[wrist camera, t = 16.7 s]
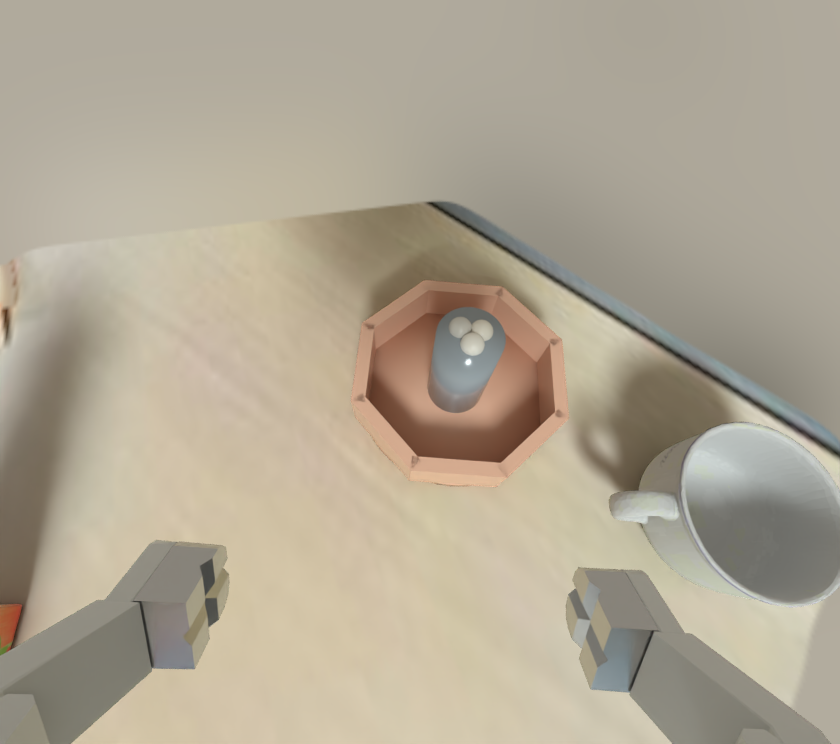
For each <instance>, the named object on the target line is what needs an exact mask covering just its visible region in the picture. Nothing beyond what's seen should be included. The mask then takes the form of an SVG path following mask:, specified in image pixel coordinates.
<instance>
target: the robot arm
mask: <svg viewBox="0 0 840 744" xmlns="http://www.w3.org/2000/svg"><path fill="white" fill-rule="evenodd" d="M226 561H227V551H226V547H224V546H223V545H213V544H201V543H190V542H173V541H162V540H156V541H154V542H152V543H151V544H149V545H148V547H147V548H146V549H145V550H144V552H143V553H142V554H141V555H140V557H139V558H138V559H137V560H136V562H135V563H134V564H133V565H132V567H131V568H130V569H129V570H128V572H127V573H126V574H125V575H124V577H123V578H122V579H121V580H120V582H119V583H118V584H117V585H116V587H115V588H114V589H113V590H112V591H111V593H110V594H109V595H108V596H107V598H106V599H105V600H96V601H95V602H93V603H91V604H89V605H88V606H86V607H84V608H82V609H81V610H79V611H77V612H75V613H74V614H72V615H70V616H68V617H67V618H65V619H63V620H62V621H60V622H58V623H56V624H55V625H53V626H51V627H49V628H48V629H46V630H44V631H42V632H41V633H39V634H37V635H35V636H34V637H32V638H30V639H28V640H27V641H25V642H23V643H22V644H20V645H18V646H16V647H15V648H13V649H11V650H9V651H8V652H6V653H4V654H2V655H1V656H0V744H71V743H72V742H73V741H74V740H75V739H76V738H78V737H79V736H80V735H81V734H82V733H83V732H84V731H85V730H87V729H88V728H89V727H90V726H91V725H92V724H93V723H94V722H96V721H97V720H98V719H99V718H100V717H101V716H102V715H103V714H104V713H106V712H107V711H108V710H109V709H110V708H111V707H112V706H113V705H115V704H116V703H117V702H118V701H119V700H120V699H121V698H122V697H124V696H125V695H126V694H127V693H128V692H129V691H130V690H131V689H132V688H134V687H135V686H136V685H137V684H138V683H139V682H140V681H141V680H143V679H144V678H145V677H146V676H147V675H148V674H149V673H150V672H152V668H157V669H195V668H196V666H197V664H198V662H199V660H200V658H201V656H202V654H203V651H204V649H205V647H206V645H207V643H208V641H209V639H210V637H209V627H210V626H211V625H212V624H214V623H215V622H216V621H218V620H219V618H220V616H221V614H222V612H223V610H224V607H225V604H226V600H227V597H228V592H229V574H228V573H227V572H226V570H225V569H224V568H223V566H224V564H225V563H226ZM573 582H574V585H575V587H576V589H574V590H573V591H572V592H571V593H570V594H568V598H567V603H566V620H567V625H568V629H569V632H570V635H571V638H572V640H573V641H574V642H575V643H576V644H577V645H578V646H579V647H580V648H582V650H581V653H580V657H579V660H580V663H581V665H582V668H583V671H584V673H585V676H586V679H587V681H588V684H589V687H590V689H592V690H605V691H617V692H629V693H630V694H629V695H630V696H631V697H632V698H633V699H634V701H635V702H636V703H637V704H638V705H639V706H640V707H641V708H642V710H643V711H644V712H645V713H646V714H647V715H648V716H649V718H650V719H651V720H652V721H653V722H654V723H655V724H656V725H657V727H658V728H659V729H660V730H661V731H662V732H663V733H664V734H665V736H666V737H667V738H668V739H669V740H670V741H671V742H672V744H831V743H830V742H829V741H828V739H827V738H826V737H825V735H824V734H823V733H822V731H821V730H819V729H818V728H817V727H815V726H814V725H813V724H811V723H810V722H809V721H807V720H806V719H805V718H803V717H802V716H801V715H799V714H798V713H797V712H795V711H794V710H793V709H791V708H790V707H789V706H787V705H786V704H785V703H783V702H782V701H781V700H779V699H778V698H777V697H775V696H774V695H773V694H771V693H770V692H769V691H767V690H766V689H765V688H763V687H762V686H761V685H759V684H758V683H757V682H755V681H754V680H753V679H751V678H750V677H749V676H747V675H746V674H745V673H743V672H742V671H741V670H739V669H738V668H737V667H735V666H734V665H733V664H731V663H730V662H729V661H727V660H726V659H725V658H723V657H722V656H721V655H719V654H718V653H717V652H715V651H714V650H713V649H711V648H710V647H709V646H707V645H706V644H705V643H703V642H702V641H701V640H699V639H698V638H697V637H695V636H694V635H693V634H688V633H685V632H684V631H683V629H682V628H681V626H680V625H679V623H678V621H677V620H676V618H675V617H674V615H673V614H672V612H671V611H670V609H669V608H668V606H667V604H666V603H665V601H664V600H663V598H662V597H661V595H660V594H659V592H658V591H657V589H656V587H655V586H654V584H653V583H652V581H651V580H650V578H649V577H648V575H647V574H646V573H645V572H643V571H642V570H618V569H600V568H581V567H578V569H577V570H576V571H575V573H574V577H573Z"/></svg>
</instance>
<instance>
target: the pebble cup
mask: <svg viewBox="0 0 840 744" xmlns="http://www.w3.org/2000/svg"><path fill="white" fill-rule="evenodd" d="M505 344H506V337H505V332H504V329H503V327H502V325H501V324H500V322H499V321H498V320H497V319H496V318H495V317H494V316H493V315H492V314H490V313H488V312H486V311H484V310H482V309H479V308H474V307H462V308H458V309H455V310H452V311H450V312H449V313H447V314H446V315H445V316H444V317H443V318H442V319H441V321H440V322H439V324H438V326H437V330H436V336H435V342H434V347H433V353H432V359H431V365H430V371H429V377H428V384H427V389H428V394H429V396H430V398H431V400H432V401H433V403H434V404H435V405H436V406H437V407H439V408H440V409H442V410H444V411H446V412H450V413H462V412H466V411H468V410H470V409H472V408H473V407H474V406H475V405H476V404H477V403H478V402H479V400H480V398H481V396H482V394H483V392H484V390H485V388H486V386H487V383H488V381H489V379H490V377H491V375H492V373H493V371H494V369H495V367H496V365H497V363H498V361H499V359H500V357H501V355H502V353H503V351H504V348H505Z"/></svg>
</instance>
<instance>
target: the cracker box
mask: <svg viewBox="0 0 840 744" xmlns="http://www.w3.org/2000/svg"><path fill="white" fill-rule="evenodd" d="M21 608H22V605H21V604H4V605H0V656H1V655H2V654H4V653H6V652H8V651H9V650H10V649H11V645H12V642H13V638H14V634H15V631H16V627H17V624H18V620H19V617H20V614H21Z"/></svg>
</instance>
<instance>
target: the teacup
mask: <svg viewBox="0 0 840 744" xmlns="http://www.w3.org/2000/svg"><path fill="white" fill-rule="evenodd" d="M609 507H610V511H611V514H612V516H613V517H614V518H615V519H618V520H622V521H634V522H638V523H641V524H642V527H643V529H644V532H645V534H646V537H647V538H648V540H649V542H650V544H651V545H652V547H653V548H654V550H655V551H656V552H657V554H658V555H659V556H660V558H661V559H662V560H663V561H664V562H665V563H666V564H667V565H668V566H669V567H670V568H671V569H673V570H674V571H675V572H677V573H678V574H679V575H681V576H682V577H684V578H685V579H687V580H689V581H690V582H692V583H694V584H696V585H699V586H701V587H704V588H706V589H709V590H712V591H716V592H719V593H724V594H728V595H732V596H737V597H742V598H748V599H754V600H759V601H762V602H765V603H768V604H772V605H778V606H784V607H802V606H807V605H811V604H815V603H817V602H820V601H822V600H823V599H825V598H826V597H828V596H830V595H831V594H832V593H833V592H834V591H835V590H837V589H838V588H839V586H840V490H839V488H838V486H837V485H836V483H835V482H834V481H833V479H832V477H831V476H830V474H829V473H828V471H827V470H826V469H825V468H824V466H823V465H822V464H821V463H820V462H819V461H818V460H817V459H816V458H815V457H814V456H813V455H812V454H811V453H810V452H809V451H808V450H806V449H805V448H804V447H803V446H802V445H800V444H799V443H797V442H796V441H794V440H793V439H792V438H790V437H789V436H787V435H784V434H783V433H781V432H779V431H777V430H774V429H772V428H770V427H767V426H763V425H760V424H754V423H749V422H732V423H725V424H721V425H718V426H715V427H713V428H710V429H708V430H706V431H705V432H704V433H702V434H699V435H696V436H693V437H691V438H688V439H686V440H683V441H681V442H679V443H677V444H674V445H673V446H671V447H669V448H667V449H666V450H664V451H662V452H661V453H660V454H659V455H658V456H656V457H655V458H654V459H653V460H652V461H651V463H650V464H649V465H648V466H647V468H646V470H645V472H644V474H643V476H642V478H641V481H640V485H639V490H638V491H624V492H618V493H615V494H613V495H611V496H610V499H609Z"/></svg>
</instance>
